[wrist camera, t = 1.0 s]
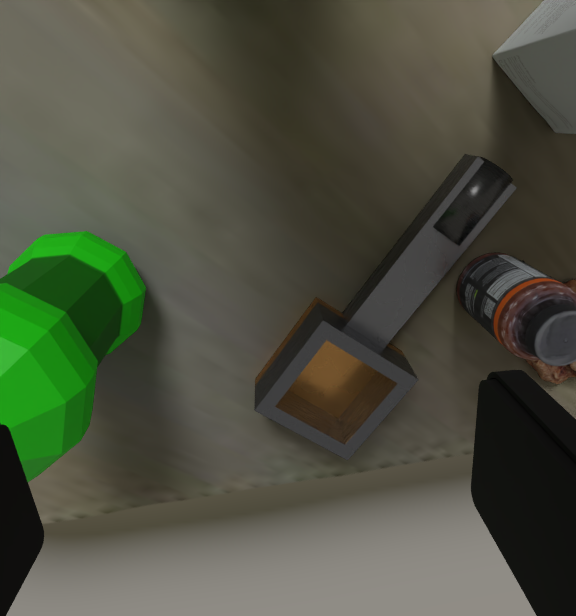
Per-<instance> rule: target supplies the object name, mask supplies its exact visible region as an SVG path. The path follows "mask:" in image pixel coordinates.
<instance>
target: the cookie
mask: <svg viewBox="0 0 576 616" xmlns="http://www.w3.org/2000/svg"><path fill="white" fill-rule="evenodd" d="M563 284H564V285H566V286H568V287H569V288H571V289H572V290H573V291H574V292H576V280H570V281H568V282H566V283H563ZM526 361H527V362H528V363H529V364H530V365H531V366H532V367H533V368H534V369H535V370H536V371H537V372H538V374H539V376H540V377H541V378H542V379H543V380H545V381H549V382H553V383H556V384H560V383H562V382H563V381H565V380H566V379H567V378H569V377H576V361H575V362H573V363H571V364H568V365H565V366H552V365H548V364H546V363H544V362H542V361H541V360H528V359H526Z"/></svg>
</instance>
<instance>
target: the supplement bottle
mask: <svg viewBox="0 0 576 616" xmlns="http://www.w3.org/2000/svg"><path fill="white" fill-rule="evenodd" d="M457 296H458V300H459V302H460V304H461V306H462V307H463V308H464V309H465V310H466V311H467V312H468V313H469V314H470V315H471V316H472V317H473V318H474V319H475V320H476V321H477V322H478V323H480V324H481V325H482V326H483V327H484V328H485V329H486V330H487V331H488V332H489V333H490V334H491V335H492V336H493V337H495V339H497V340H498V341H499V342H500V343H501V344H502V345H503V346H504V347H505V348H506V349H507V350H509V351H510V352H511V353H513V354H514V355H516V356H518V357H520V358H523V359H528V360H541V361H542V362H544V363H546V364H548V365H552V366H565V365H568V364H571V363H573V362H575V361H576V292H574V291H573V290H572V289H571V288H569V287H568V286H566V285H564V284H563V283H561V282H559V281H557V280H555V279H553V278H552V277H550V276H548V275H546V274H544V273H543V272H541V271H539V270H537V269H535V268H533V267H531V266H530V265H528V264H526V263H525V262H524V261H523V260H522V261H521V260H518V259H517V258H515V257H513V256H510V255H507V254H504V253H488V254H485V255H482V256H480V257H478V258H476V259H475V260H473V261H472V262H471V263H469V264H468V265H467V266H466V268H465V269H464V270H463V272H462V274H461V275H460V278H459V280H458V284H457Z"/></svg>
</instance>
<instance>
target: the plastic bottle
mask: <svg viewBox="0 0 576 616" xmlns="http://www.w3.org/2000/svg"><path fill="white" fill-rule="evenodd" d="M145 292H146V287H145V285H144V283H143V281H142V279H141V278H140V276H139V274H138V272H137V271H136V269H135V267H134V265H133V263H132V262H131V260H130V258H129V256H128V255H127V253H126V252H125V251H123V250H121V249H119V248H118V247H116V246H114V245H112V244H110V243H108V242H106V241H105V240H103V239H101V238H99V237H97V236H95V235H93V234H92V233H89V232H87V231H85V232H73V233H61V234H49V235H43V236H42V237H40V238H38V239H37V240H36V241H35V242H34V243H33V244H32V245H31V246H30V247H29V248H28V249H27V250H26V251H25V252H23V253H22V254H21V255H20V256H19V257H18V258H17V259H16V260H15V261H14V262H13V263H12V264H11V265H10V267H9V270H8V274H7V275H6V276H4V277H3V278H1V279H0V423H1V425H2V424H3V425H6V426H7V427H8V428H9V430H10V432H11V435H12V438H13V441H14V444H15V447H16V450H17V453H18V456H19V458H20V461H21V464H22V467H23V470H24V473H25V476H26V479H27V482H29V481H31V480H32V479H34V478H35V477H37V476H38V475H39V474H41V473H42V472H43V471H44V470H46V469H47V468H48V467H49V466H50V465H52V464H53V463H54V462H55V461H56V460H58V459H59V458H60V457H61V456H63V455H64V454H65V453H66V452H67V451H69V450H70V449H71V448H72V447H74V446H75V445H76V444H77V443H78V442H80V441H81V439H82V437H83V436H84V434H85V432H86V430H87V428H88V427H89V424H90V419H91V414H92V409H93V401H94V392H95V383H96V374H97V367H98V365H99V364H100V362H101V361H102V359H103V358H104V356H105V355H107V354H110V353H111V352H112V351H113V350H115V349H116V348H117V347H118V346H119V345H120V344H121V343H123V342H124V341H125V340H126V339H127V338H128V337H130V336H131V335H132V334H133V333H134V332H135V331H137V330H138V328H139V326H140V324H141V320H142V313H143V306H144V299H145Z"/></svg>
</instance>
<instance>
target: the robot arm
mask: <svg viewBox="0 0 576 616" xmlns="http://www.w3.org/2000/svg"><path fill="white" fill-rule="evenodd" d="M471 493H472V498H473V502H474V504H475V507H476V509H477V510H478V512H479V514H480V516H481V518H482V519H483V521H484V523H485V524H486V526H487V528H488V530H489V532H490V534H491V535H492V537H493V539H494V541H495V542H496V544H497V546H498V548H499V550H500V551H501V553H502V555H503V556H504V558H505V560H506V562H507V564H508V565H509V567H510V569H511V571H512V572H513V574H514V576H515V578H516V580H517V581H518V583H519V585H520V587H521V589H522V590H523V592H524V594H525V596H526V597H527V599H528V601H529V603H530V605H531V606H532V608H533V610H534V612H535V613H536V615H537V616H576V419H575V418H574V417H573V416H572V415H570V414H569V413H568V412H567V411H566V410H565V409H564V408H563V407H562V406H561V405H560V404H559V403H558V402H556V401H555V400H554V399H553V398H552V397H551V396H550V395H549V394H548V393H547V392H546V391H545V390H543V389H542V388H541V387H540V386H539V385H538V384H537V383H536V382H535V381H534V380H533V379H532V378H531V377H529V376H528V375H527V374H526V373H525V372H524V371H522V370H510V371H499V372H491V373H490V374H489V375H488V377H487V380H482V381H481V382H480V385H479V393H478V405H477V418H476V431H475V443H474V457H473V468H472V481H471ZM43 541H44V530H43V526H42V523H41V520H40V517H39V514H38V511H37V508H36V505H35V502H34V499H33V497H32V494H31V491H30V488H29V485H28V482H27V479H26V476H25V473H24V470H23V467H22V464H21V461H20V458H19V456H18V453H17V450H16V447H15V444H14V441H13V438H12V435H11V432H10V430H9V428H8V427H7V426H6V425H3V424H2V425H1V423H0V616H6V614H7V612H8V611H9V609H10V607H11V605H12V603H13V601H14V599H15V597H16V595H17V593H18V592H19V590H20V588H21V586H22V584H23V582H24V580H25V578H26V577H27V575H28V573H29V571H30V569H31V567H32V565H33V563H34V562H35V560H36V558H37V556H38V554H39V552H40V550H41V548H42V545H43Z"/></svg>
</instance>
